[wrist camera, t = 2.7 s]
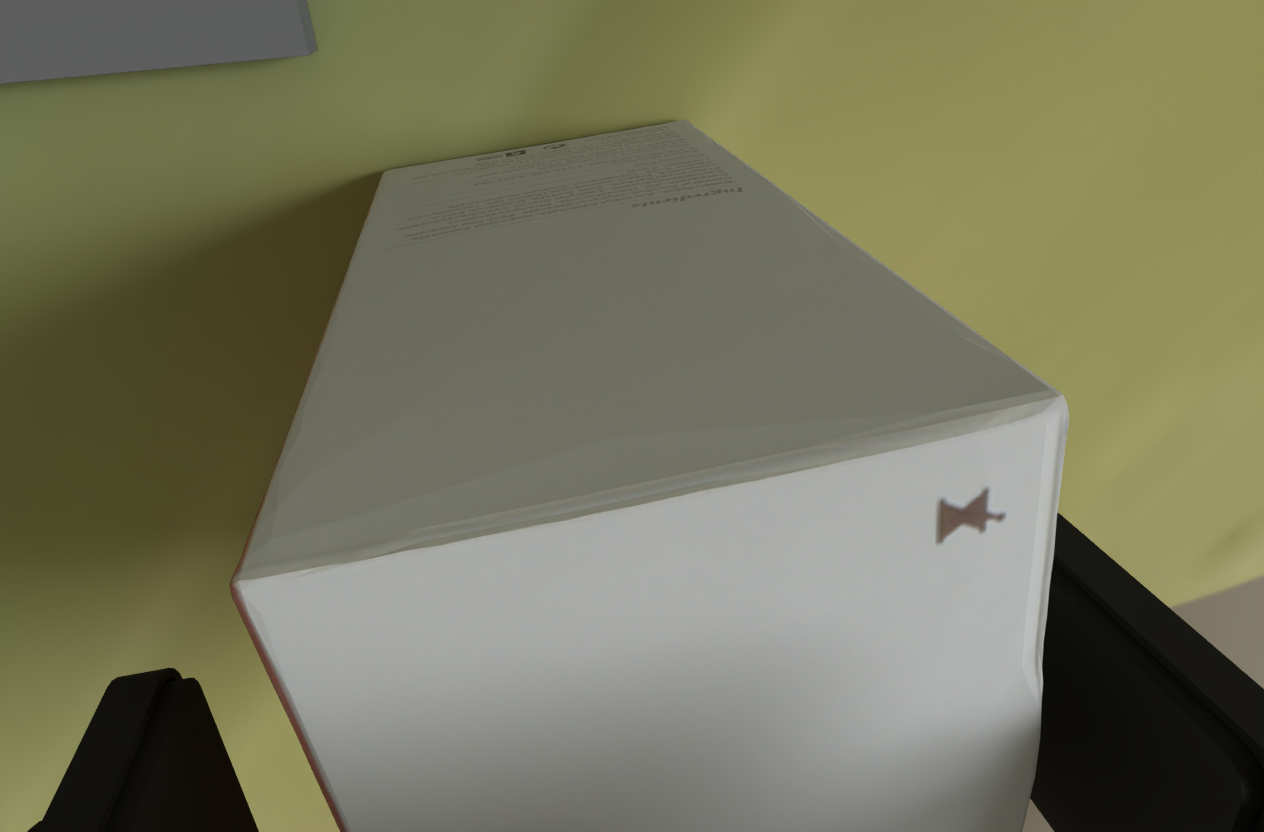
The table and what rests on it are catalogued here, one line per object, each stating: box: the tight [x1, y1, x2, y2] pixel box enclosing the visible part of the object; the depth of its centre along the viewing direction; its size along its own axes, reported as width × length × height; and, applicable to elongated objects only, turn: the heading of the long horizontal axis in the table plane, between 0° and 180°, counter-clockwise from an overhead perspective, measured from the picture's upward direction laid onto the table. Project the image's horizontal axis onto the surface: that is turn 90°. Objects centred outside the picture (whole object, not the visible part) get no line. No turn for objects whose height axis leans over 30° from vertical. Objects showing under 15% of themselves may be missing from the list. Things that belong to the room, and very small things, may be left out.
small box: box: [230, 120, 1069, 832], centre depth 14 cm, size 8×6×13 cm
